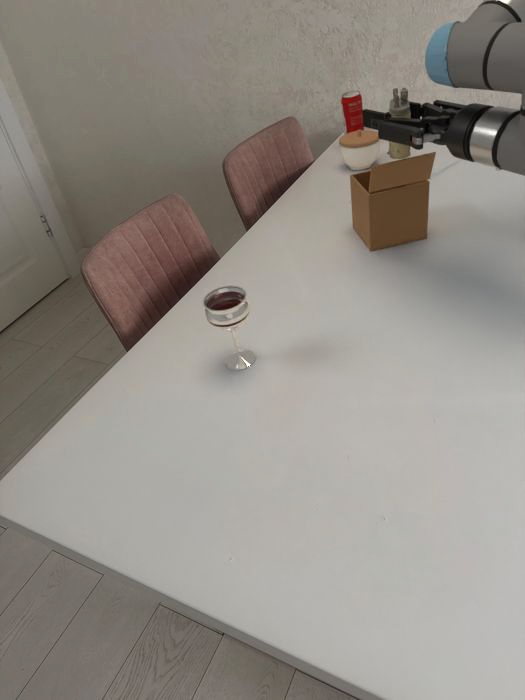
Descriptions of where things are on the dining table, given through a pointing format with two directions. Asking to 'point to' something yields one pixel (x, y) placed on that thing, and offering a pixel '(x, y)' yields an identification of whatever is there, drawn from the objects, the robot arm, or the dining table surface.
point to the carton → (389, 212)
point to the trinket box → (359, 148)
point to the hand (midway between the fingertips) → (378, 112)
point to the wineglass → (230, 319)
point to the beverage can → (352, 111)
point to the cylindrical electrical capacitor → (399, 110)
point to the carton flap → (401, 172)
